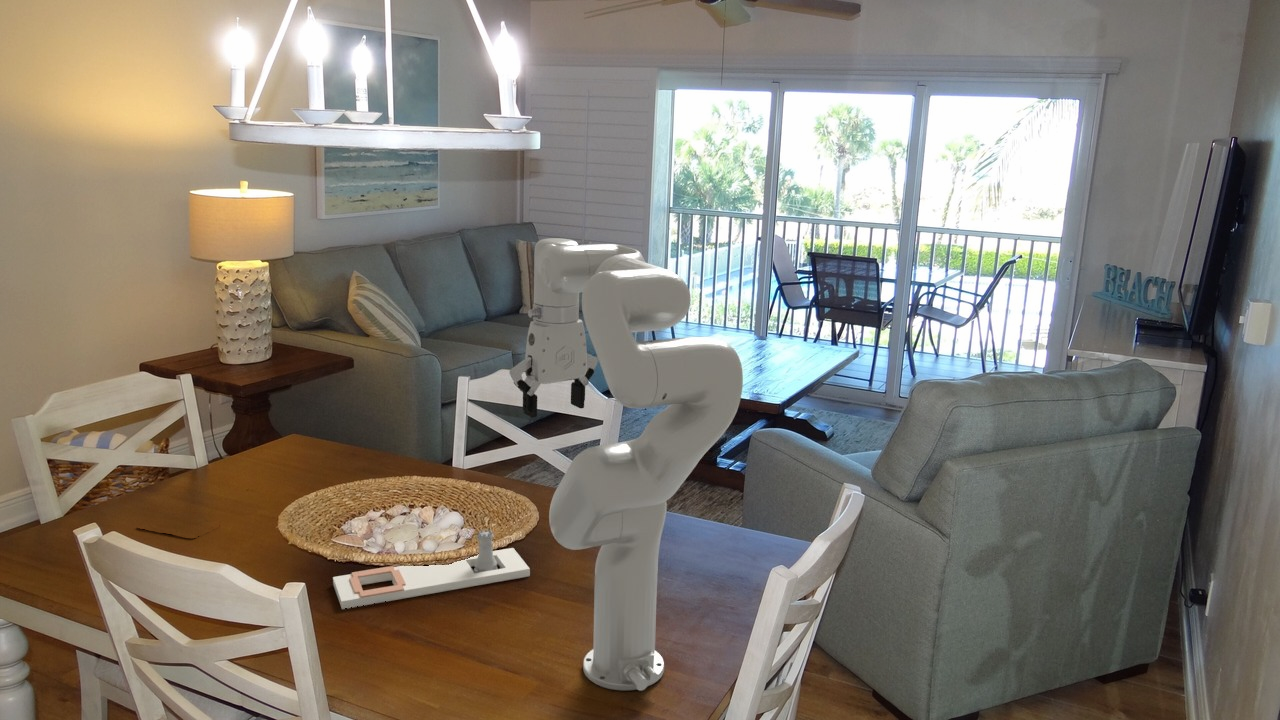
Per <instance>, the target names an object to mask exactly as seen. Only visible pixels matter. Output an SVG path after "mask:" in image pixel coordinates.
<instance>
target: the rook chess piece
mask: <svg viewBox="0 0 1280 720" xmlns="http://www.w3.org/2000/svg"><path fill="white" fill-rule="evenodd" d="M494 538H495V535H494V534H493V531H492V529H489V530H488V528H486V529H480V530H479V531H478V534H477V535H476V539H477V540H478V543H477V546H478V553H479V554H478V553H477V554H478V558H477V561H476V562H475V564H474V566H473V567H474V569H473V572H474V573H479V572H485V571H491V570H496V569H499V568H498V564H497V562H496V560H495V558H494V556H493V551H494V550H493V546H494V543H493V539H494Z"/></svg>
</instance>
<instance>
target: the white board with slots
mask: <svg viewBox="0 0 1280 720" xmlns="http://www.w3.org/2000/svg"><path fill="white" fill-rule="evenodd" d="M492 551H493V556H494V558H495V560H496V562H497V566H499V568H498V569H496V570H491V571H485V572H479V573H475V571H474V569H473V568H472V567H475V566H474V564H475V562H476V561H477V558H478V555H477V556H474V557H470V558H468V559H465V560H461V561H457V562H454V563H452V564H449V565H429V566H404V565H399V566H393V565H391V566H383V567H379V568H378V567H377V568H371V569H365V570H359V571H354V572H353V571H352V572H351V573H350V574H344V575H338V576H333V577H332V584H333V588H334V591H335V594H336V596H337V599H338V602H339V604H340V607H341V610H346V609H345V608H347V609H351V607H352V608H357V606H358V607H364V606H368V605H375V604H381V603H386V602H391V601H392V602H393V601H396V600H397V601H398V600H402V599H407V598H414V597H419V596H424V595H425V596H426V595H430V594H436V593H442V592H447V591H453V590H459V589H465V588H470V587H475V586H482V585H487V584H493V583H498V582H499V583H500V582H504V581H510V580H516V579H521V578H527V577H531V569H530V567H529V566H528V565H527V563H526V562H525V560H524V559H523V558H522V557H521V555H520V554H519V553H518V552H517V551H516V550H515V548H514V547H509V548H503V549H499V550H497V549H496V550H492ZM388 581H392V585H389V586H383V587H378V588H372V589H366V590H363V587H362V586H363V585H370V584H375V583H380V582H381V583H382V582H388ZM385 601H386V602H385ZM374 603H375V604H374ZM363 605H364V606H363Z"/></svg>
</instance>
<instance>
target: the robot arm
mask: <svg viewBox="0 0 1280 720" xmlns="http://www.w3.org/2000/svg"><path fill="white" fill-rule="evenodd" d="M533 258H534V259H533V260H534V261H533V263H534V264H533V265H534V267H533V269H534V270H533V273H534V274H533V275H534V276H533V304H532V309H528V311H527V315H528V317H529V318H532V319H533V320H532V321H530V323H529V327H528V331H527V336H526V346H525V356H524V359H523V360H522V361H520V362H519V363H517V364H516V365H515V366H513V367H511V368H510V370H509V371H508V372H509V373H508V374H509V376H510V377H511V379H512V381H513V384H514V385H515V386H516V387H517V388H518V389H519V391H520V392H522V410H523V413H524V414H523V415H526V416H528V417H530V418H533V419H535V418H537V416H538V395H537V394H535V393H536V391H537V390H538V388H539V387H540V385H549V384H555V383H561V382H568V381H572V380H573V382H571V384H570V404H571V405H573V406H574V407H576V408H578V409H584V408H585V399H586V386H588V385H589V383H590V382H589V380H590V379H592V377H593V375H594V373H595V369H596V368H597V365H598V363H599V365H600V368H601V371H602V373H603V376H604V379H605V382H606V384H607V387H608V390H609V391H610V394H611V395H612V396H613V398H614V399H615V400H616V402H617V403H618V404H620V405H622V406H623V407H625V408H629V409H645V408H647V409H648V408H653V407H663V406H666V407H665V408H664V409H662V410H660V411H659V412H658V413H657V414H656V415H654V417H653V418H652V419H650V421H649V422H648V424H647V425H646V427H645V429H644V430H643V432H641V434H640V435H639V436H638V437H636V438H634V439H629V440H626V441H625V440H624V441H620V442H612V443H607V444H605V443H604V444H599V445H596V446H592V447H591V446H590V447H587V448H586V449H584V450H582V451H581V452H579V453H578V454H577V455H576V456H574V458H573V460H572V461H571V463H570V465H569V467H568V468H567V470H566V472H565V473H564V475H563V477H562V479H561V480H560V482H559V484H558V486H557V488H556V490H555V491H554V493H553V496H552V499H551V502H550V504H549V506H550V507H549V513H548V514H549V515H548V519H549V528H550V531H551V534H552V536H553V537H554V539H555V541H556V542H557V543H558V544H559V545H561V547H564V548H565V549H568V550H572V551H573V550H574V551H577V550H585V549H589V548H590V549H591V548H595V547H599V546H600V548H599V551H598V553H597V557H596V559H595V560H596V561H595V566H594V590H593V591H594V593H593V594H594V595H593V596H594V597H593V598H594V601H593V602H594V603H593V606H594V607H593V648H592V649H590V650H589V652H587V653H586V654H585V656H584V657H583V660H582V663H583V664H582V669H583V673H584V675H585V677H586V678H587V679H588V680H589V681H591V683H594V684H595V685H597V686H600V687H602V688H604V689H608V690H614V691H634V690H638V691H639V692H640V691H644V690H646V688H648V687H649V686H652V685H654V684H655V683H656V682H658V681H659V680H660V679H661V678H662V676H663V675H664V671H665V661H664V658H663V657H662V656H661V654H660V653H659V652H658V651H657V650H655V649H656V627H657V626H656V624H657V623H656V622H657V597H658V596H657V593H658V590H657V589H658V573H659V571H658V568H659V567H658V565H659V555H660V554H659V553H660V544H661V538H662V534H663V531H664V526H665V521H666V518H667V517H666V516H667V509H668V508H667V507H668V506H667V501H668V500H670V499H671V498H672V497H674V495H675V494H676V492H677V491H678V490H679V489H680V487H681V486H682V485H683V484H684V482H685V481H686V479H687V478H688V477H689V476H690V475H691V473H692V472H693V470H694V469H695V468H696V467H697V465H698V463H699V462H700V460H702V458H703V457H704V455H705V454H706V453H707V452H708V451H709V450H710V449H711V448H712V447H713V446H714V445H715V444H716V442H718V440H719V439H720V438H721V437H722V436H723V435H724V434H725V433H726V431H727V429H728V428H729V427H730V425H731V424H732V423H733V420H734V418H735V416H736V414H737V412H738V409H739V406H740V403H741V398H742V394H743V386H744V383H743V382H744V375H743V366H742V362H741V359H740V356H739V355H738V353H737V352H736V350H735V349H734V348H733V347H732V346H731V345H730V344H728V343H726V342H725V341H723V340H720V339H717V338H714V337H713V338H712V337H706V336H688V337H687V336H685V337H675V338H665V339H662V338H661V339H655V340H654V339H653V340H652V339H651V340H643V341H642V340H641V341H637V340H636V338H635V336H634V334H633V333H642V332H653V331H661V330H665V329H670V328H672V327H675V326H676V325H677V324H679V323H680V322H681V321H683V319H684V318H686V315H687V314H688V312H689V311H690V306H691V293H690V289H689V287H688V284H687V283H686V282H685V281H684V280H683V278H681V277H680V276H679V275H678V274H676V273H674V271H672V270H669V269H667V268H664V267H662V266H657V265H654V264H651V263H648V262H646V260H645V258H644V256H643V254H642V253H641V252H640V250H637V249H635V248H633V247H629V246H625V245H622V244H618V243H617V244H615V243H595V244H594V243H592V244H579V243H578V242H577V241H576V240H573V239H571V238H570V239H569V238H561V237H560V238H559V237H551V238H549V237H548V238H543V239H540V240H538V241H536V244H535V246H534V257H533ZM581 293H582V294H581ZM580 294H581V311H582V316H583V320H584V322H583V320H582V319H580V315H579V314H580V311H579V310H580ZM584 323H585V326H586V330H587V332H588V336H589V338H590V341H591V343H592V346H593V349H594V351H595V354H596V356H594V355H592V354H590V353H588V351H587V348H588V347H587V338H586V332H585V331H586V330H585V327H584ZM523 373H525V376H526V377H525V379H523V376H522V374H523Z"/></svg>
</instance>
